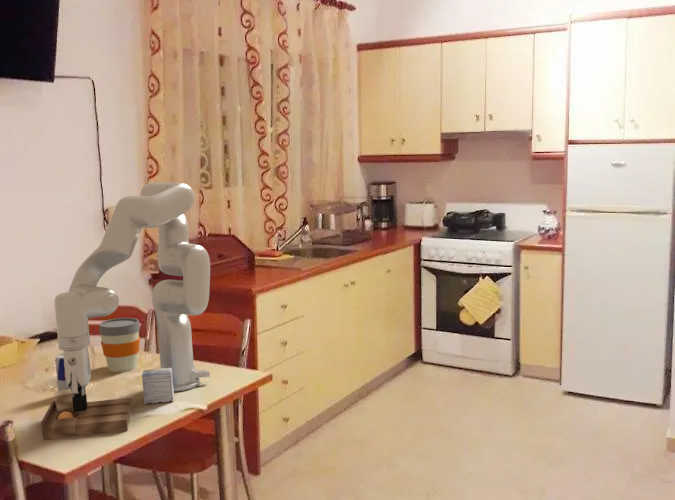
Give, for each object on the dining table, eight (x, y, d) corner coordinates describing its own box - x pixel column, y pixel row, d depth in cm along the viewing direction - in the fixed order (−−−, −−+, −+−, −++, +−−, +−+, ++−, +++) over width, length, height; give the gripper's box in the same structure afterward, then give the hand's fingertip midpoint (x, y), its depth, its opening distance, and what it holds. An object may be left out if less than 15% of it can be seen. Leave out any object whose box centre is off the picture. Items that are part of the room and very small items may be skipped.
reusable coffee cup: (95, 368, 232) (91, 323, 230) (131, 359, 240) (128, 315, 238) (113, 376, 223) (109, 329, 220) (150, 367, 231) (146, 321, 229)
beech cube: (71, 403, 192) (70, 388, 191) (73, 407, 188) (72, 393, 188) (55, 406, 190) (54, 391, 189) (57, 410, 186) (55, 396, 186)
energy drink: (71, 399, 203) (68, 358, 202) (55, 398, 205) (50, 358, 203) (82, 392, 209) (78, 353, 207) (65, 392, 210) (61, 352, 208)
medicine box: (174, 396, 203) (172, 367, 201) (173, 402, 198) (171, 372, 197) (145, 399, 201) (143, 369, 200) (144, 404, 197) (141, 374, 196)
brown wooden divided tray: (132, 408, 195) (131, 392, 194) (127, 430, 179) (125, 413, 178) (54, 416, 191) (53, 400, 190) (42, 440, 175) (40, 422, 175)
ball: (73, 426, 185) (77, 411, 185) (69, 430, 181) (73, 415, 181) (58, 423, 185) (61, 408, 185) (53, 427, 181) (57, 412, 181)
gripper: (85, 347, 175) (91, 419, 178) (93, 332, 189) (99, 398, 192) (53, 350, 173) (60, 422, 176) (63, 334, 188) (70, 401, 191)
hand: (80, 410), depth 184 cm, fingers closed
